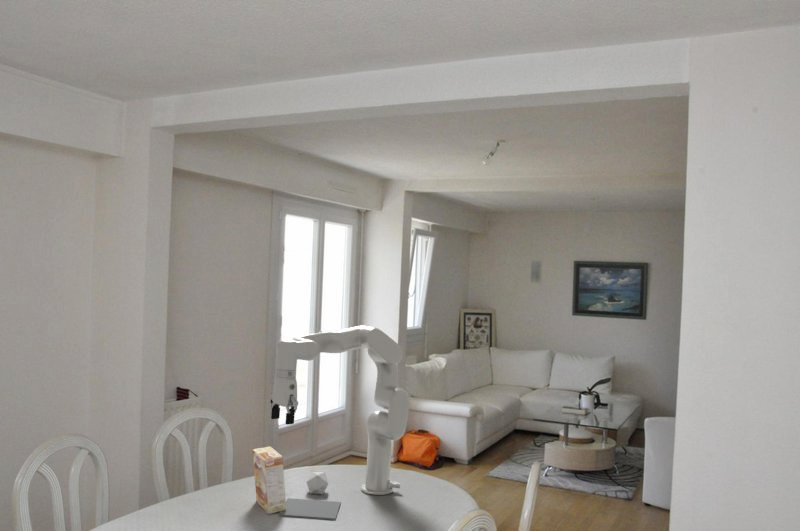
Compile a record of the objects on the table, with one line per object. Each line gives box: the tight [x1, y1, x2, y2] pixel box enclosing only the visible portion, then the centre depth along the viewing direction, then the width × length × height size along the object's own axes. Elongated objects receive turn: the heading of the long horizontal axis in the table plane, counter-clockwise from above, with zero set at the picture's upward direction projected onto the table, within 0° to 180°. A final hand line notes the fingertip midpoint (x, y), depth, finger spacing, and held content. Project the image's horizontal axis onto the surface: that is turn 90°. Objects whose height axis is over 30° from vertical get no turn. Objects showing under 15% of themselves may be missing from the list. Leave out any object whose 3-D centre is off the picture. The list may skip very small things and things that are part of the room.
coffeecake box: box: [252, 446, 287, 515], centre depth 255 cm, size 15×7×20 cm, turn 27°
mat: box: [278, 497, 342, 521], centre depth 255 cm, size 20×18×1 cm
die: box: [306, 471, 329, 495], centre depth 275 cm, size 8×9×10 cm
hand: (282, 421), depth 255 cm, fingers open, 9 cm apart
